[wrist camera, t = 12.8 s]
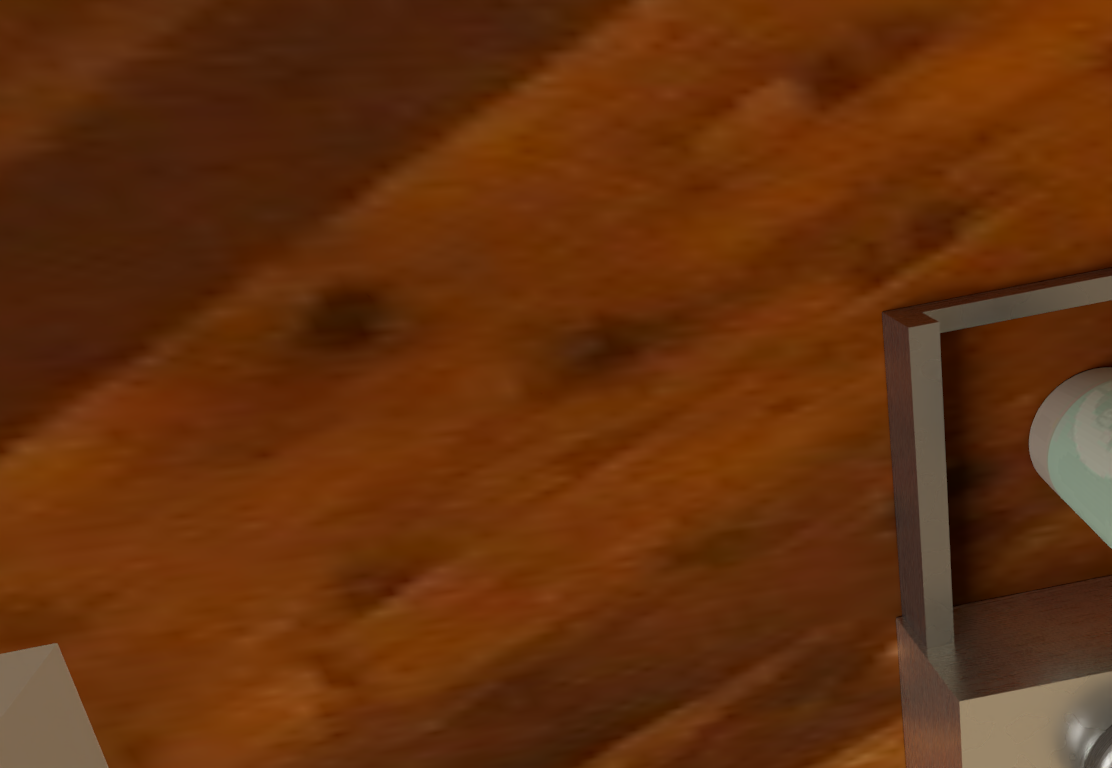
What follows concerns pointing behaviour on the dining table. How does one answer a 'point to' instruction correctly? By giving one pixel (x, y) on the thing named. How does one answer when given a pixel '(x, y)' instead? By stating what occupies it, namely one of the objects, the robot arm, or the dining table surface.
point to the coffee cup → (1078, 446)
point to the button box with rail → (996, 624)
